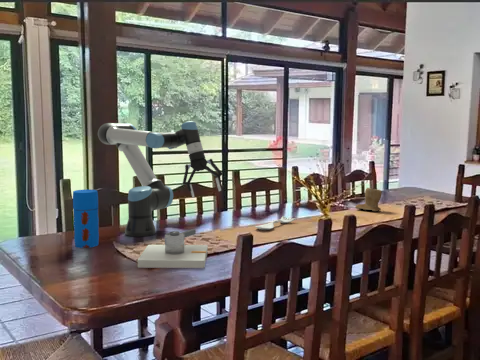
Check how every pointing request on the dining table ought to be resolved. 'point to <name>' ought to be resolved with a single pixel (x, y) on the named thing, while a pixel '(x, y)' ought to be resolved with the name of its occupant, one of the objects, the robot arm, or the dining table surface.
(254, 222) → the dining table surface
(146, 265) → the stand
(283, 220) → the spoon
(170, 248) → the capstan
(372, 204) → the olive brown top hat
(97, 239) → the thermos
